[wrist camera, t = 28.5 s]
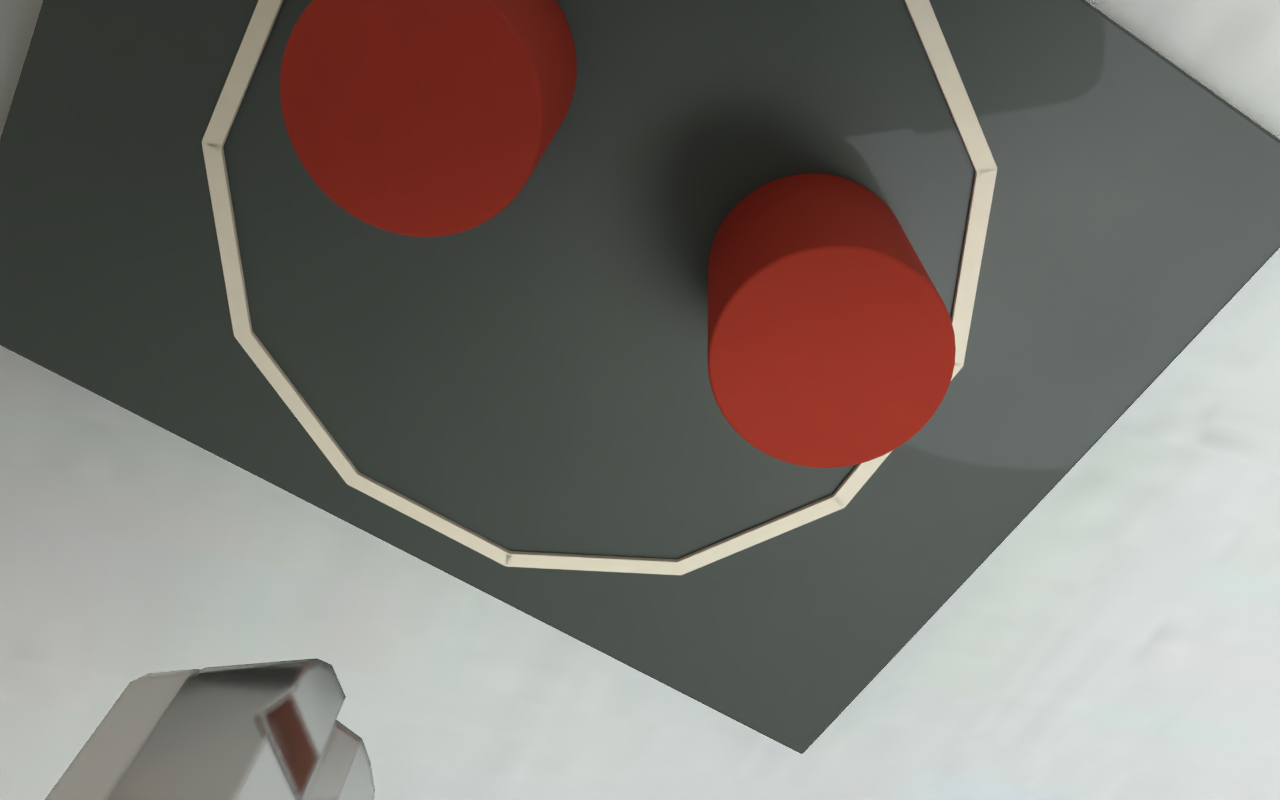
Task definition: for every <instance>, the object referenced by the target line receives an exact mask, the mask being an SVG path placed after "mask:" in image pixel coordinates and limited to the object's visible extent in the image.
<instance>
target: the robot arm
mask: <svg viewBox="0 0 1280 800" xmlns="http://www.w3.org/2000/svg"><path fill="white" fill-rule="evenodd" d="M344 699H345V694H344V692H343V690H342V688H341V685H340V683H339V681H338V678H337V676H336V674H335V672H334V669H333V667H332V665H330V664H328V663H326V662H324V661H321V660H319V659H305V660H293V661H281V662H269V663H257V664H245V665H233V666H220V667H208V668H204V669H202V670H199V669H192V670H181V671H171V672H160V673H150V674H147V675H145V676H143V677H140V678H138V679H136V680H134V681H132V682H130V683H129V685H128V686H127V687H126V689H125V690H124V691H123V693H122V694H121V696H120V697H119V698H118V700H117V701H116V702H115V704H114V705H113V707H112V708H111V709H110V711H109V712H108V714H107V715H106V716H105V718H104V719H103V720H102V722H101V723H100V725H99V726H98V727H97V729H96V730H95V731H94V733H93V734H92V736H91V737H90V738H89V740H88V741H87V742H86V744H85V745H84V747H83V748H82V749H81V751H80V752H79V753H78V755H77V756H76V758H75V759H74V760H73V762H72V763H71V764H70V766H69V767H68V769H67V770H66V771H65V773H64V774H63V775H62V777H61V778H60V780H59V781H58V782H57V784H56V785H55V786H54V788H53V789H52V791H51V792H50V793H49V795H48V796H47V797H46V799H45V800H374V792H375V789H374V782H373V776H372V769H371V763H370V760H369V757H368V754H367V751H366V749H365V746H364V743H363V741H362V738H360V737H359V736H357V735H356V734H355V733H353V732H352V731H351V730H349V729H348V728H347V727H345V726H344V725H343V724H341V723H340V722H339V721H337V720H336V718H337V716H338V713H339V711H340V709H341V706H342V704H343V702H344Z"/></svg>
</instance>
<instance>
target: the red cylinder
mask: <svg viewBox="0 0 1280 800" xmlns="http://www.w3.org/2000/svg"><path fill="white" fill-rule="evenodd" d="M576 76H577V59H576V52H575V45H574V41H573V37H572V33H571V30H570V27H569V25H568V22H567V20H566V17H565V15H564V13H563V11H562V10H561V8H560V6H559V4H558V2H557V1H556V0H313V1H312V2H311V3H310V4H309V5H308V7H307V8H306V9H305V10H304V11H303V13H302V14H301V16H300V17H299V19H298V21H297V22H296V24H295V26H294V27H293V30H292V32H291V34H290V37H289V39H288V41H287V44H286V48H285V52H284V55H283V59H282V65H281V73H280V99H281V107H282V114H283V118H284V122H285V126H286V130H287V133H288V135H289V138H290V141H291V143H292V146H293V148H294V150H295V152H296V154H297V156H298V158H299V160H300V162H301V163H302V165H303V166H304V168H305V169H306V171H307V172H308V174H309V175H310V177H311V178H312V179H313V181H314V182H315V183H316V184H317V185H318V186H319V187H320V189H321V190H322V191H323V192H324V193H325V194H326V195H327V196H328V197H329V198H330V199H332V200H333V201H334V202H335V203H336V204H337V205H339V206H340V207H341V208H343V209H344V210H345V211H347V212H348V213H349V214H351V215H353V216H355V217H356V218H358V219H360V220H362V221H363V222H365V223H368V224H370V225H372V226H375V227H377V228H379V229H382V230H385V231H389V232H392V233H395V234H400V235H406V236H412V237H439V236H448V235H452V234H457V233H461V232H464V231H467V230H469V229H472V228H475V227H477V226H479V225H481V224H483V223H484V222H486V221H488V220H490V219H491V218H493V217H494V216H495V215H497V214H498V213H500V212H501V211H502V210H503V209H505V208H506V207H507V206H508V205H509V204H510V203H511V202H512V201H513V200H514V199H515V197H516V196H517V195H518V193H519V192H520V191H521V190H522V188H523V187H524V186H525V184H526V182H527V181H528V179H529V177H530V176H531V174H532V172H533V171H534V169H535V167H536V166H537V164H538V162H539V161H540V159H541V157H542V156H543V154H544V152H545V151H546V149H547V147H548V146H549V144H550V142H551V141H552V139H553V137H554V136H555V134H556V132H557V131H558V129H559V127H560V126H561V124H562V122H563V120H564V118H565V117H566V115H567V112H568V110H569V107H570V105H571V102H572V98H573V94H574V90H575V84H576Z"/></svg>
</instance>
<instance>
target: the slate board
mask: <svg viewBox="0 0 1280 800" xmlns="http://www.w3.org/2000/svg"><path fill="white" fill-rule="evenodd" d="M312 1H313V0H44V1H43V4H42V7H41V11H40V14H39V17H38V20H37V23H36V27H35V30H34V33H33V36H32V40H31V43H30V46H29V49H28V52H27V56H26V59H25V62H24V65H23V69H22V72H21V75H20V78H19V81H18V85H17V88H16V91H15V94H14V98H13V101H12V104H11V107H10V110H9V114H8V117H7V120H6V123H5V126H4V130H3V133H2V136H1V139H0V345H1V346H3V347H5V348H7V349H9V350H11V351H13V352H15V353H17V354H19V355H21V356H23V357H25V358H27V359H29V360H31V361H33V362H35V363H37V364H39V365H41V366H43V367H45V368H47V369H48V370H50V371H52V372H54V373H56V374H58V375H60V376H62V377H64V378H66V379H68V380H70V381H72V382H74V383H76V384H78V385H80V386H82V387H84V388H86V389H88V390H90V391H92V392H94V393H95V394H97V395H99V396H101V397H103V398H105V399H107V400H109V401H111V402H113V403H115V404H117V405H119V406H121V407H123V408H125V409H127V410H129V411H131V412H133V413H135V414H137V415H139V416H141V417H143V418H144V419H146V420H148V421H150V422H152V423H154V424H156V425H158V426H160V427H162V428H164V429H166V430H168V431H170V432H172V433H174V434H176V435H178V436H180V437H182V438H184V439H186V440H188V441H190V442H191V443H193V444H195V445H197V446H199V447H201V448H203V449H205V450H207V451H209V452H211V453H213V454H215V455H217V456H219V457H221V458H223V459H225V460H227V461H229V462H231V463H233V464H235V465H237V466H239V467H240V468H242V469H244V470H246V471H248V472H250V473H252V474H254V475H256V476H258V477H260V478H262V479H264V480H266V481H268V482H270V483H272V484H274V485H276V486H278V487H280V488H282V489H284V490H286V491H287V492H289V493H291V494H293V495H295V496H297V497H299V498H301V499H303V500H305V501H307V502H309V503H311V504H313V505H315V506H317V507H319V508H321V509H323V510H325V511H327V512H329V513H331V514H333V515H335V516H336V517H338V518H340V519H342V520H344V521H346V522H348V523H350V524H352V525H354V526H356V527H358V528H360V529H362V530H364V531H366V532H368V533H370V534H372V535H374V536H376V537H378V538H380V539H382V540H383V541H385V542H387V543H389V544H391V545H393V546H395V547H397V548H399V549H401V550H403V551H405V552H407V553H409V554H411V555H413V556H415V557H417V558H419V559H421V560H423V561H425V562H427V563H429V564H431V565H432V566H434V567H436V568H438V569H440V570H442V571H444V572H446V573H448V574H450V575H452V576H454V577H456V578H458V579H460V580H462V581H464V582H466V583H468V584H470V585H472V586H474V587H476V588H478V589H479V590H481V591H483V592H485V593H487V594H489V595H491V596H493V597H495V598H497V599H499V600H501V601H503V602H505V603H507V604H509V605H511V606H513V607H515V608H517V609H519V610H521V611H523V612H525V613H526V614H528V615H530V616H532V617H534V618H536V619H538V620H540V621H542V622H544V623H546V624H548V625H550V626H552V627H554V628H556V629H558V630H560V631H562V632H564V633H566V634H568V635H570V636H572V637H574V638H575V639H577V640H579V641H581V642H583V643H585V644H587V645H589V646H591V647H593V648H595V649H597V650H599V651H601V652H603V653H605V654H607V655H609V656H611V657H613V658H615V659H617V660H619V661H621V662H622V663H624V664H626V665H628V666H630V667H632V668H634V669H636V670H638V671H640V672H642V673H644V674H646V675H648V676H650V677H652V678H654V679H656V680H658V681H660V682H662V683H664V684H666V685H668V686H670V687H671V688H673V689H675V690H677V691H679V692H681V693H683V694H685V695H687V696H689V697H691V698H693V699H695V700H697V701H699V702H701V703H703V704H705V705H707V706H709V707H711V708H713V709H715V710H717V711H718V712H720V713H722V714H724V715H726V716H728V717H730V718H732V719H734V720H736V721H738V722H740V723H742V724H744V725H746V726H748V727H750V728H752V729H754V730H756V731H758V732H760V733H762V734H764V735H766V736H767V737H769V738H771V739H773V740H775V741H777V742H779V743H781V744H783V745H785V746H787V747H789V748H791V749H793V750H795V751H797V752H799V753H801V754H802V753H804V752H805V751H806V750H807V749H808V747H809V746H810V745H811V744H812V743H813V742H814V741H815V740H816V739H817V738H818V737H819V736H820V735H821V734H822V733H823V732H824V730H825V729H826V728H827V727H828V726H829V725H830V724H831V723H832V722H833V721H834V720H835V719H836V718H837V717H838V716H839V715H840V714H841V712H842V711H843V710H844V709H845V708H846V707H847V706H848V705H849V704H850V703H851V702H852V701H853V700H854V699H855V698H856V697H857V695H858V694H859V693H860V692H861V691H862V690H863V689H864V688H865V687H866V686H867V685H868V684H869V683H870V682H871V681H872V680H873V678H874V677H875V676H876V675H877V674H878V673H879V672H880V671H881V670H882V669H883V668H884V667H885V666H886V665H887V664H888V663H889V662H890V660H891V659H892V658H893V657H894V656H895V655H896V654H897V653H898V652H899V651H900V650H901V649H902V648H903V647H904V646H905V645H906V643H907V642H908V641H909V640H910V639H911V638H912V637H913V636H914V635H915V634H916V633H917V632H918V631H919V630H920V629H921V628H922V626H923V625H924V624H925V623H926V622H927V621H928V620H929V619H930V618H931V617H932V616H933V615H934V614H935V613H936V612H937V611H938V610H939V608H940V607H941V606H942V605H943V604H944V603H945V602H946V601H947V600H948V599H949V598H950V597H951V596H952V595H953V594H954V593H955V591H956V590H957V589H958V588H959V587H960V586H961V585H962V584H963V583H964V582H965V581H966V580H967V579H968V578H969V577H970V576H971V575H972V573H973V572H974V571H975V570H976V569H977V568H978V567H979V566H980V565H981V564H982V563H983V562H984V561H985V560H986V559H987V558H988V556H989V555H990V554H991V553H992V552H993V551H994V550H995V549H996V548H997V547H998V546H999V545H1000V544H1001V543H1002V542H1003V541H1004V539H1005V538H1006V537H1007V536H1008V535H1009V534H1010V533H1011V532H1012V531H1013V530H1014V529H1015V528H1016V527H1017V526H1018V525H1019V524H1020V523H1021V521H1022V520H1023V519H1024V518H1025V517H1026V516H1027V515H1028V514H1029V513H1030V512H1031V511H1032V510H1033V509H1034V508H1035V507H1036V506H1037V504H1038V503H1039V502H1040V501H1041V500H1042V499H1043V498H1044V497H1045V496H1046V495H1047V494H1048V493H1049V492H1050V491H1051V490H1052V489H1053V487H1054V486H1055V485H1056V484H1057V483H1058V482H1059V481H1060V480H1061V479H1062V478H1063V477H1064V476H1065V475H1066V474H1067V473H1068V472H1069V471H1070V469H1071V468H1072V467H1073V466H1074V465H1075V464H1076V463H1077V462H1078V461H1079V460H1080V459H1081V458H1082V457H1083V456H1084V455H1085V454H1086V452H1087V451H1088V450H1089V449H1090V448H1091V447H1092V446H1093V445H1094V444H1095V443H1096V442H1097V441H1098V440H1099V439H1100V438H1101V437H1102V436H1103V434H1104V433H1105V432H1106V431H1107V430H1108V429H1109V428H1110V427H1111V426H1112V425H1113V424H1114V423H1115V422H1116V421H1117V420H1118V419H1119V417H1120V416H1121V415H1122V414H1123V413H1124V412H1125V411H1126V410H1127V409H1128V408H1129V407H1130V406H1131V405H1132V404H1133V403H1134V402H1135V400H1136V399H1137V398H1138V397H1139V396H1140V395H1141V394H1142V393H1143V392H1144V391H1145V390H1146V389H1147V388H1148V387H1149V386H1150V385H1151V384H1152V382H1153V381H1154V380H1155V379H1156V378H1157V377H1158V376H1159V375H1160V374H1161V373H1162V372H1163V371H1164V370H1165V369H1166V368H1167V367H1168V365H1169V364H1170V363H1171V362H1172V361H1173V360H1174V359H1175V358H1176V357H1177V356H1178V355H1179V354H1180V353H1181V352H1182V351H1183V350H1184V348H1185V347H1186V346H1187V345H1188V344H1189V343H1190V342H1191V341H1192V340H1193V339H1194V338H1195V337H1196V336H1197V335H1198V334H1199V333H1200V332H1201V330H1202V329H1203V328H1204V327H1205V326H1206V325H1207V324H1208V323H1209V322H1210V321H1211V320H1212V319H1213V318H1214V317H1215V316H1216V315H1217V313H1218V312H1219V311H1220V310H1221V309H1222V308H1223V307H1224V306H1225V305H1226V304H1227V303H1228V302H1229V301H1230V300H1231V299H1232V298H1233V297H1234V295H1235V294H1236V293H1237V292H1238V291H1239V290H1240V289H1241V288H1242V287H1243V286H1244V285H1245V284H1246V283H1247V282H1248V281H1249V280H1250V278H1251V277H1252V276H1253V275H1254V274H1255V273H1256V272H1257V271H1258V270H1259V269H1260V268H1261V267H1262V266H1263V265H1264V264H1265V263H1266V261H1267V260H1268V259H1269V258H1270V257H1271V256H1272V255H1273V254H1274V253H1275V252H1276V251H1277V250H1278V249H1279V248H1280V140H1279V139H1278V138H1276V137H1275V136H1273V135H1272V134H1271V133H1269V132H1268V131H1266V130H1265V129H1264V128H1262V127H1261V126H1259V125H1258V124H1257V123H1255V122H1254V121H1252V120H1251V119H1250V118H1248V117H1247V116H1245V115H1244V114H1243V113H1241V112H1240V111H1239V110H1237V109H1236V108H1234V107H1233V106H1232V105H1230V104H1229V103H1227V102H1226V101H1225V100H1223V99H1222V98H1220V97H1219V96H1218V95H1216V94H1215V93H1213V92H1212V91H1211V90H1209V89H1208V88H1206V87H1205V86H1204V85H1202V84H1201V83H1199V82H1198V81H1197V80H1195V79H1194V78H1192V77H1191V76H1190V75H1188V74H1187V73H1185V72H1184V71H1183V70H1181V69H1180V68H1178V67H1177V66H1176V65H1174V64H1173V63H1172V62H1170V61H1169V60H1167V59H1166V58H1165V57H1163V56H1162V55H1160V54H1159V53H1158V52H1156V51H1155V50H1153V49H1152V48H1151V47H1149V46H1148V45H1146V44H1145V43H1144V42H1142V41H1141V40H1139V39H1138V38H1137V37H1135V36H1134V35H1132V34H1131V33H1130V32H1128V31H1127V30H1125V29H1124V28H1123V27H1121V26H1120V25H1118V24H1117V23H1116V22H1114V21H1113V20H1111V19H1110V18H1109V17H1107V16H1106V15H1105V14H1103V13H1102V12H1100V11H1099V10H1098V9H1096V8H1095V7H1093V6H1092V5H1091V4H1089V3H1088V2H1086V1H1085V0H556V1H557V2H558V4H559V6H560V8H561V10H562V11H563V13H564V15H565V17H566V20H567V22H568V25H569V27H570V30H571V33H572V37H573V41H574V45H575V52H576V59H577V76H576V84H575V90H574V94H573V98H572V102H571V105H570V107H569V110H568V112H567V115H566V117H565V118H564V120H563V122H562V124H561V126H560V127H559V129H558V131H557V132H556V134H555V136H554V137H553V139H552V141H551V142H550V144H549V146H548V147H547V149H546V151H545V152H544V154H543V156H542V157H541V159H540V161H539V162H538V164H537V166H536V167H535V169H534V171H533V172H532V174H531V176H530V177H529V179H528V181H527V182H526V184H525V186H524V187H523V188H522V190H521V191H520V192H519V193H518V195H517V196H516V197H515V199H514V200H513V201H512V202H511V203H510V204H509V205H508V206H507V207H506V208H505V209H503V210H502V211H501V212H500V213H498V214H497V215H495V216H494V217H493V218H491V219H490V220H488V221H486V222H484V223H483V224H481V225H479V226H477V227H475V228H472V229H469V230H467V231H464V232H461V233H457V234H452V235H448V236H439V237H412V236H406V235H400V234H395V233H392V232H389V231H385V230H382V229H379V228H377V227H375V226H372V225H370V224H368V223H365V222H363V221H362V220H360V219H358V218H356V217H355V216H353V215H351V214H349V213H348V212H347V211H345V210H344V209H343V208H341V207H340V206H339V205H337V204H336V203H335V202H334V201H333V200H332V199H330V198H329V197H328V196H327V195H326V194H325V193H324V192H323V191H322V190H321V189H320V187H319V186H318V185H317V184H316V183H315V182H314V181H313V179H312V178H311V177H310V175H309V174H308V172H307V171H306V169H305V168H304V166H303V165H302V163H301V162H300V160H299V158H298V156H297V154H296V152H295V150H294V148H293V146H292V143H291V141H290V138H289V135H288V133H287V130H286V126H285V122H284V118H283V114H282V107H281V99H280V73H281V65H282V59H283V55H284V52H285V48H286V44H287V41H288V39H289V37H290V34H291V32H292V30H293V27H294V26H295V24H296V22H297V21H298V19H299V17H300V16H301V14H302V13H303V11H304V10H305V9H306V8H307V7H308V5H309V4H310V3H311V2H312ZM805 173H821V174H830V175H835V176H840V177H843V178H846V179H849V180H852V181H854V182H856V183H858V184H860V185H862V186H864V187H866V188H867V189H869V190H870V191H872V192H873V193H875V194H876V195H877V196H878V197H879V198H880V199H882V200H883V201H884V202H885V203H886V204H887V206H888V207H889V208H890V209H891V211H892V212H893V213H894V215H895V216H896V218H897V220H898V222H899V223H900V225H901V227H902V229H903V230H904V232H905V234H906V236H907V237H908V239H909V241H910V243H911V245H912V246H913V248H914V250H915V252H916V254H917V255H918V257H919V259H920V261H921V263H922V264H923V266H924V268H925V270H926V272H927V273H928V275H929V277H930V279H931V280H932V282H933V284H934V286H935V288H936V289H937V291H938V293H939V295H940V297H941V298H942V300H943V302H944V304H945V306H946V308H947V311H948V313H949V316H950V318H951V321H952V326H953V330H954V335H955V346H956V352H955V365H954V369H953V374H952V378H951V381H950V384H949V387H948V390H947V392H946V394H945V396H944V398H943V400H942V402H941V404H940V406H939V407H938V409H937V410H936V412H935V413H934V414H933V416H932V417H931V419H930V420H929V421H928V422H927V423H926V424H925V425H924V426H923V428H922V429H921V430H920V431H919V432H917V433H916V434H915V435H914V436H913V437H912V438H911V439H909V440H908V441H907V442H905V443H904V444H902V445H901V446H899V447H898V448H896V449H894V450H892V451H891V452H889V453H887V454H885V455H883V456H881V457H878V458H875V459H873V460H870V461H867V462H864V463H860V464H856V465H852V466H845V467H839V468H814V467H805V466H800V465H794V464H791V463H787V462H784V461H781V460H778V459H776V458H774V457H772V456H769V455H767V454H765V453H763V452H762V451H760V450H759V449H757V448H755V447H754V446H752V445H751V444H750V443H748V442H747V441H746V440H745V439H743V438H742V437H741V436H740V435H739V434H738V433H737V432H736V431H735V430H734V429H733V428H732V427H731V425H730V424H729V423H728V421H727V420H726V419H725V417H724V416H723V414H722V412H721V411H720V409H719V407H718V405H717V403H716V401H715V398H714V395H713V392H712V389H711V385H710V380H709V375H708V261H709V255H710V251H711V247H712V244H713V241H714V238H715V236H716V234H717V232H718V230H719V228H720V226H721V224H722V223H723V221H724V220H725V218H726V217H727V216H728V214H729V213H730V212H731V211H732V209H733V208H734V207H735V206H736V205H737V204H738V203H739V202H740V201H741V200H743V199H744V198H745V197H746V196H747V195H749V194H750V193H752V192H753V191H755V190H756V189H758V188H759V187H761V186H763V185H765V184H767V183H770V182H772V181H774V180H777V179H780V178H783V177H786V176H791V175H797V174H805Z"/></svg>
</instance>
